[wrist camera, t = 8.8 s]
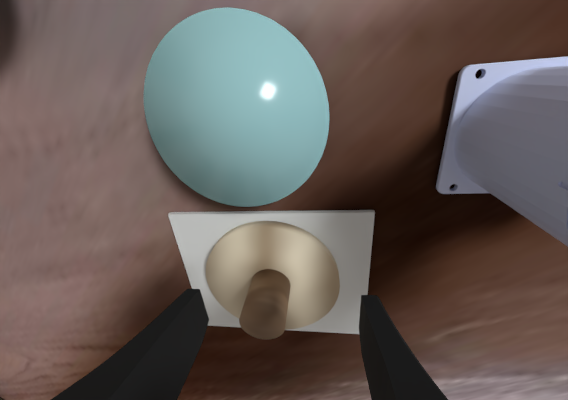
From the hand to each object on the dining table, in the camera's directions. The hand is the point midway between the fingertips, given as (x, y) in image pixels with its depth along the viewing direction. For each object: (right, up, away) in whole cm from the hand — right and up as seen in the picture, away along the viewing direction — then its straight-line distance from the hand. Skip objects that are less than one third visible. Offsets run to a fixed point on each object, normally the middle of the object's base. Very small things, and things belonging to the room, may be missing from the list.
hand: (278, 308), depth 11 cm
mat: (-1, -2, +12) cm, 13 cm away
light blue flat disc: (-2, +11, +6) cm, 12 cm away
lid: (-1, -2, +12) cm, 12 cm away
